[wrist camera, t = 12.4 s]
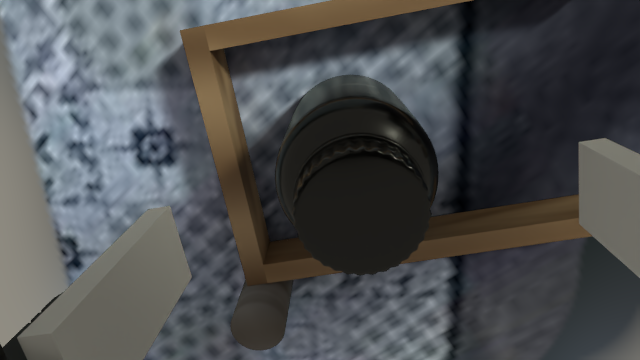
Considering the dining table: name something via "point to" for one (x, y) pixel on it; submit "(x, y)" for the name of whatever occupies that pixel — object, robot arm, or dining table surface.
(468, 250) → the bay
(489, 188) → the dining table surface
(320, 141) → the supplement bottle
